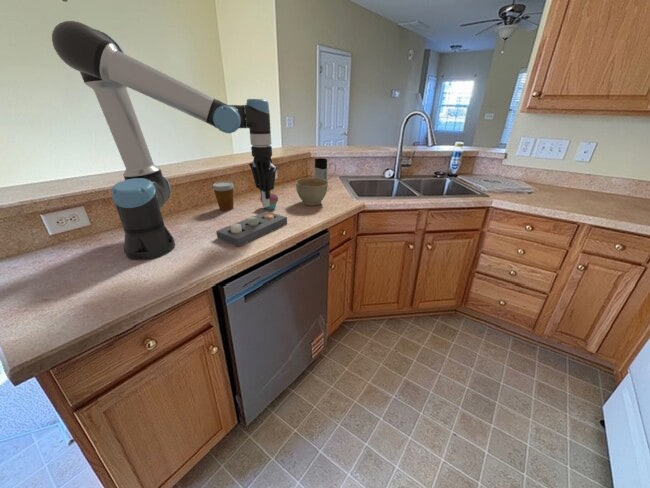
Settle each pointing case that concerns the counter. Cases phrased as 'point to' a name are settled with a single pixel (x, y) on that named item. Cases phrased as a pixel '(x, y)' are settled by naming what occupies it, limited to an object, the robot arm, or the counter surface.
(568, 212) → the counter surface
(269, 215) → the terracotta button
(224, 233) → the button panel
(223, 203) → the disposable coffee cup
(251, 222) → the sage button
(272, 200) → the cupcake
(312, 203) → the planter bowl
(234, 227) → the white rounded piece
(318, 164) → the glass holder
